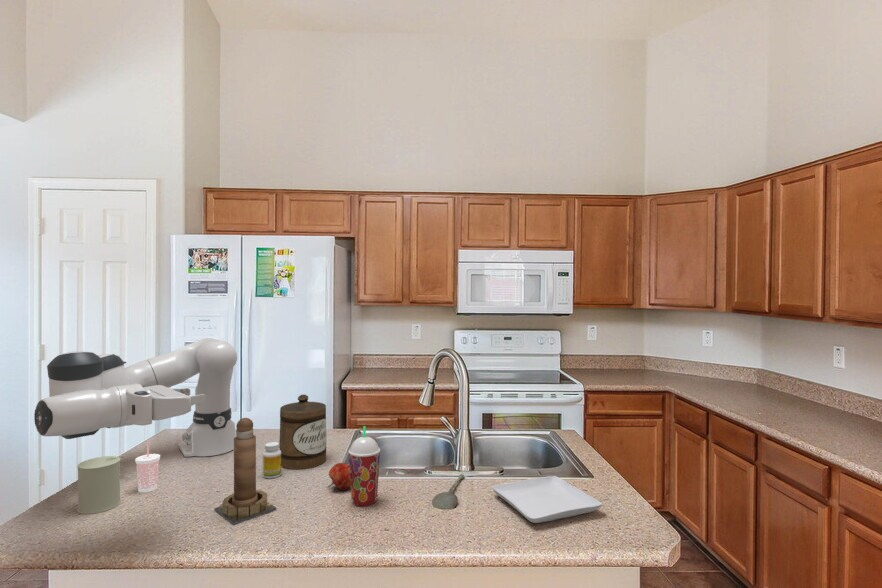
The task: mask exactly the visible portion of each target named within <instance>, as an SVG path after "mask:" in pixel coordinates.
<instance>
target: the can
mask: <svg viewBox="0 0 882 588" xmlns="http://www.w3.org/2000/svg"><path fill="white" fill-rule="evenodd" d="M76 467H77V490H78V491H77V513H79V514H82V515H94V514H99V513H103V512H104V513H105V512H107V511H109V510H112V509H114V508H117V507H118V506H119V505H120V504H121V502H122V500H121V457H119V456H117V455H116V456H114V455H112V456H111V455H108V456H107V455H106V456H99V457H94V458H89V459H86V460H84V461H82V462H79V463H78V464H77V466H76Z"/></svg>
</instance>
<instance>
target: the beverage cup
mask: <svg viewBox="0 0 882 588" xmlns="http://www.w3.org/2000/svg"><path fill="white" fill-rule="evenodd" d="M160 459H161V454H159V453H150V440H149V439H146V454H143V455H139V456H137V457H136V458H135V459H134V461H135V464H136V474H137V475H136V476H137V490H138V492H139V493H150V492H152V491H156V490H157V489H158V483H159V482H158V481H159V468H160Z"/></svg>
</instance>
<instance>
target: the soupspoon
mask: <svg viewBox="0 0 882 588" xmlns="http://www.w3.org/2000/svg"><path fill="white" fill-rule="evenodd" d="M457 477H458V478H457V479H456V480H455V481H454V483H453V484H452V485H451V486H450V488H449V490H448V491H443V492H440V493H437V494H436V495H434V497H433V499H432V506H433V508H435V509H438V510H443V511H445V510H447V511H448V510H454V509H455V507H456V506H457V504H458V496H457V495H456V494H455V493H453V491H454V489H455V487H456V485H457V484H458V483H459V481H461V480H465V478H466V476H465V474H462V473H461V474H460V475H459V476H457Z"/></svg>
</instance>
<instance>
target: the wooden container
mask: <svg viewBox="0 0 882 588" xmlns="http://www.w3.org/2000/svg"><path fill="white" fill-rule="evenodd" d="M297 400H298V401H296V402H291V403H287V404H284V405H282V406H280V408H279V442H278V443H279V448H278V449H279V450H280V451H281V468H284V469H289V470H307V469H312V468H315V467H318V466H320V465H322V464H324V463H325V462H326V460H327V406H326V404H325V403H323V402H318V401H309V396H308V395H307V394H300V395H299V396H297ZM306 468H307V469H306Z"/></svg>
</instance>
